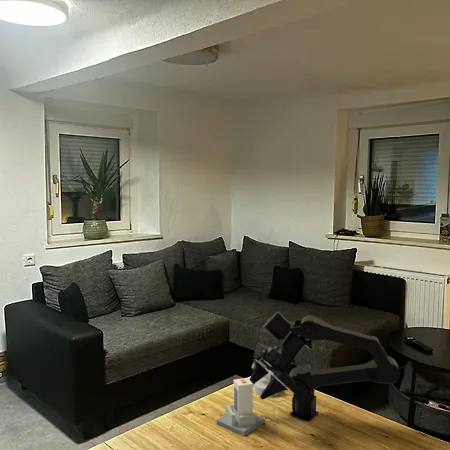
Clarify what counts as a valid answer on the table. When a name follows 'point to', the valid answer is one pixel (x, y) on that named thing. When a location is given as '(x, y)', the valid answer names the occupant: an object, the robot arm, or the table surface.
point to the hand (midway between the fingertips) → (254, 391)
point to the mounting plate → (240, 429)
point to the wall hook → (263, 383)
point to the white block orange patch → (243, 397)
